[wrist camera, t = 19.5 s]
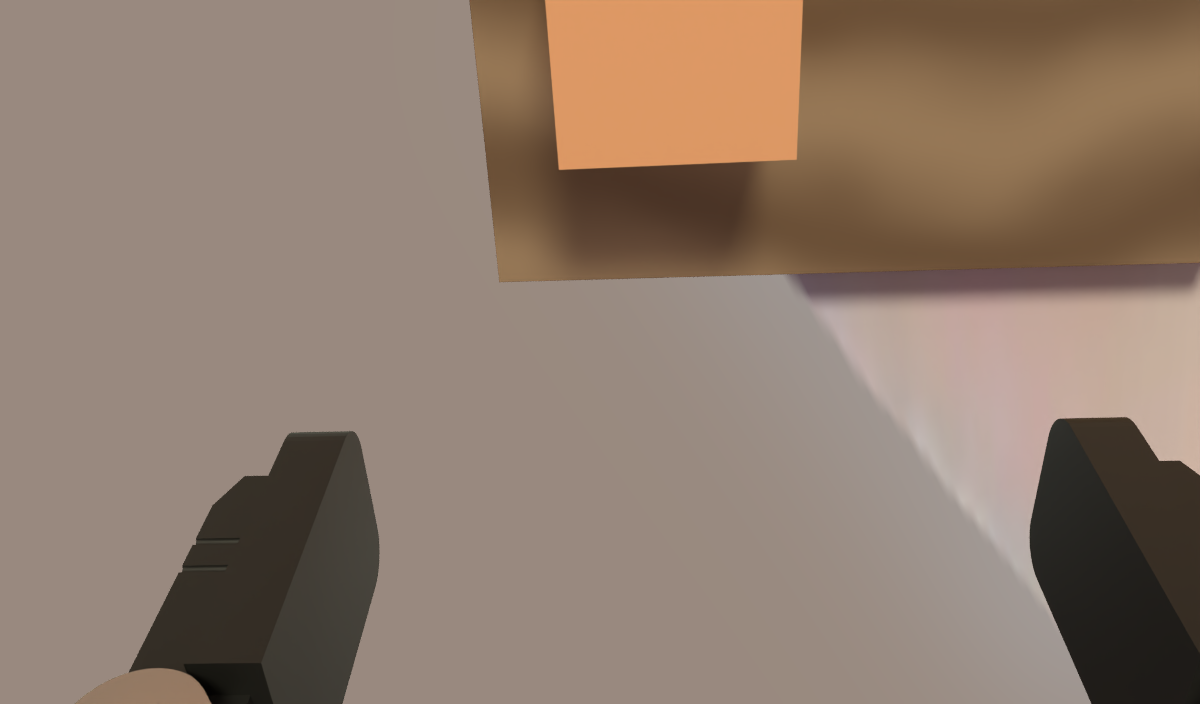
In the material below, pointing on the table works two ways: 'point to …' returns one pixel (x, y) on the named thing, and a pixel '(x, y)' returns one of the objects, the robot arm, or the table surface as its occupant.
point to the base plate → (881, 149)
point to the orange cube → (674, 81)
